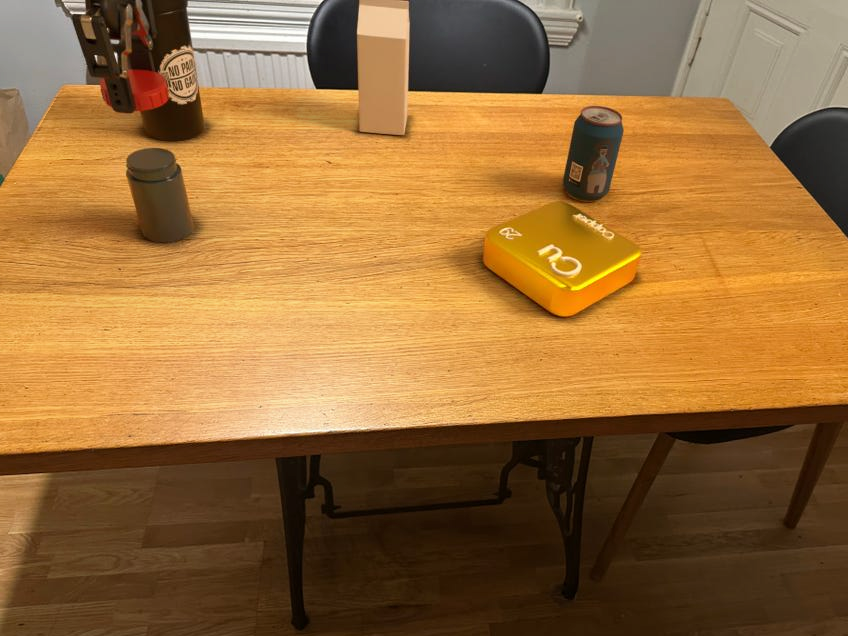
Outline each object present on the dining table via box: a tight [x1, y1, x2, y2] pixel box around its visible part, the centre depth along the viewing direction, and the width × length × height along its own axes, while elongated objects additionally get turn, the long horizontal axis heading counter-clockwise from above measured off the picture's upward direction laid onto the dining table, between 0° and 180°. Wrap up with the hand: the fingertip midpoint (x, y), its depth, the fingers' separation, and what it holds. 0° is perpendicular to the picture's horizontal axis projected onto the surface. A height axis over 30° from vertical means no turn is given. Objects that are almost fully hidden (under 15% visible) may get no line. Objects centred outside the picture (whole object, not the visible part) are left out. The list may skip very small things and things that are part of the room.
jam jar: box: [125, 147, 195, 244], centre depth 83 cm, size 6×6×10 cm
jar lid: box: [99, 70, 169, 112], centre depth 75 cm, size 6×6×2 cm
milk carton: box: [356, 0, 411, 136], centre depth 107 cm, size 7×7×19 cm
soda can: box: [562, 105, 625, 203], centre depth 99 cm, size 7×7×12 cm
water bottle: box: [119, 0, 206, 142], centre depth 98 cm, size 10×10×23 cm
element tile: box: [482, 200, 643, 318], centre depth 87 cm, size 15×15×5 cm
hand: (136, 97), depth 76 cm, fingers closed on jar lid, 6 cm apart
